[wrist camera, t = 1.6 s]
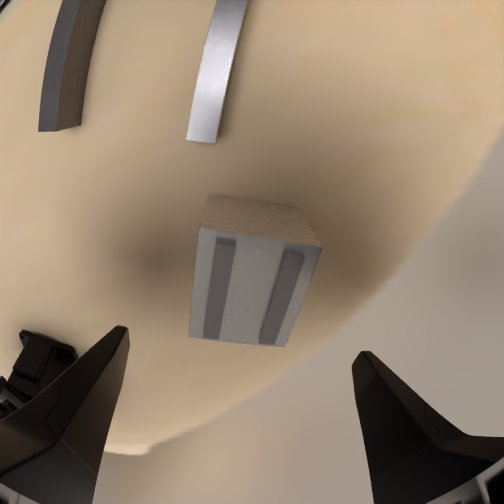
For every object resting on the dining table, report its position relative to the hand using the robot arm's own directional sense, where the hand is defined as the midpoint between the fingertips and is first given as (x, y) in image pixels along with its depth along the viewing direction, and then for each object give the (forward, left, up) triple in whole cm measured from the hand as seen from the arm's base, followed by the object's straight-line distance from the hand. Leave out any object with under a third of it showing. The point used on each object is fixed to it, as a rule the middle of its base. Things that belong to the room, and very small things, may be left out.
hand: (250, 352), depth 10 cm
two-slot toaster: (0, 0, -8) cm, 8 cm away
